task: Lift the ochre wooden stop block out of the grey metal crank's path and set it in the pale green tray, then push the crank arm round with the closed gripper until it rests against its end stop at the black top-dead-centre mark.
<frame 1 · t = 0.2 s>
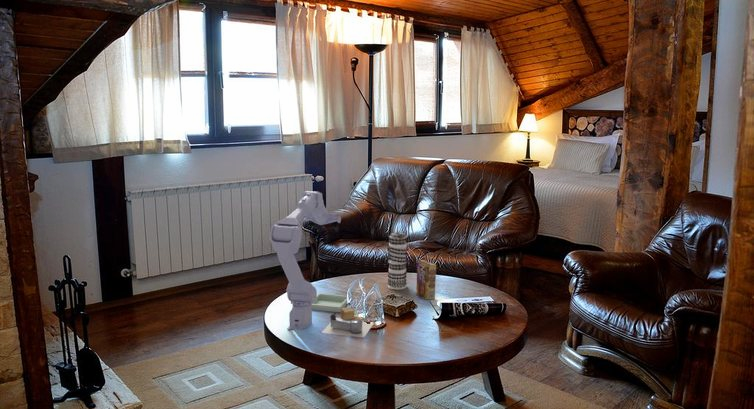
hand: (328, 229, 247), 31 cm above the table, tool tilted 50°, fingers open, 7 cm apart
candy box: (425, 296, 261), on the table
patterned cylinder: (397, 287, 274), on the table
tray: (329, 307, 247), on the table
crank: (346, 323, 219), point 4 cm above the table, hinge at 80.0°
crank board: (348, 329, 223), on the table
stop block: (347, 324, 225), point 1 cm above the table, touching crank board
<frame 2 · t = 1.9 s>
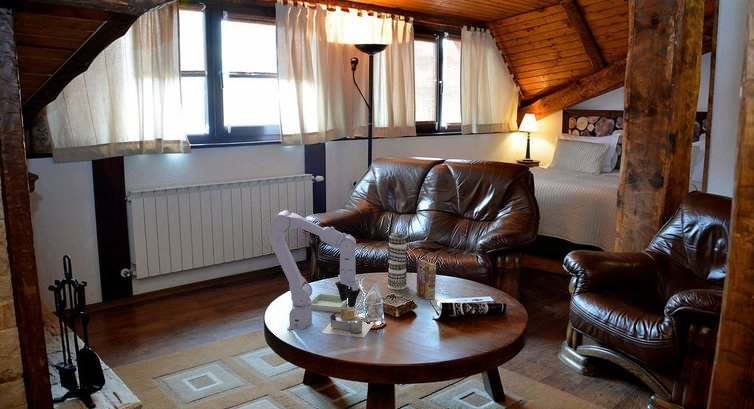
hand: (347, 303, 224), 9 cm above the table, tool pointing down, fingers open, 7 cm apart
nothing on the table moved.
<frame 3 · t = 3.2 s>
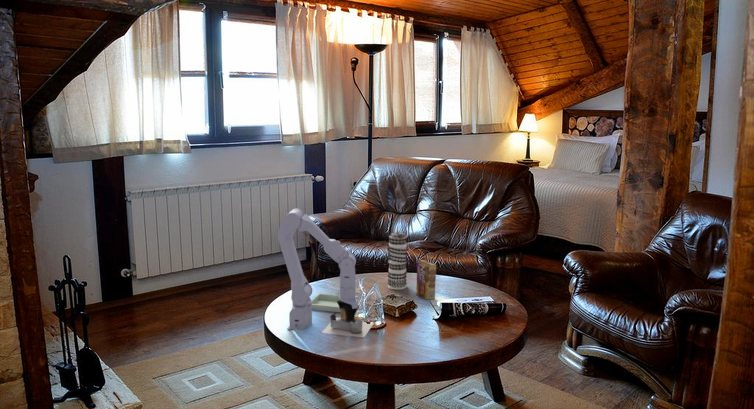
hand: (347, 321, 225), 2 cm above the table, tool pointing down, fingers closed on stop block, 4 cm apart
stop block: (347, 324, 225), point 1 cm above the table, touching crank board, gripper
everything else where it was.
when the fingers open (4 cm above the table, at t = 7.4 s): stop block drops 2 cm, resting on tray.
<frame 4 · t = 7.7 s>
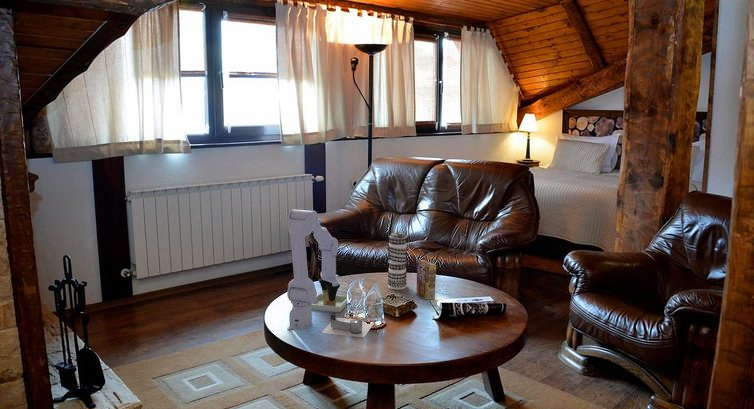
hand: (329, 298, 246), 4 cm above the table, tool pointing down, fingers open, 6 cm apart
stop block: (329, 305, 247), point 1 cm above the table, touching tray
everything else where it was.
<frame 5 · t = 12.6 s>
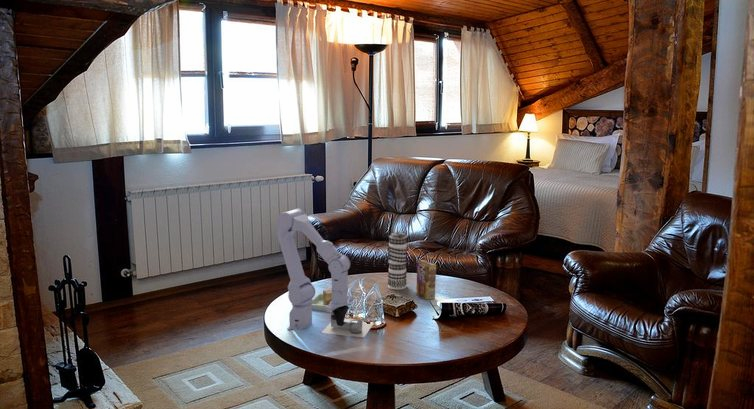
hand: (340, 325, 219), 3 cm above the table, tool pointing down, fingers closed, pressing on crank
crank: (346, 322, 219), point 4 cm above the table, hinge at 78.1°, touching gripper
everything else where it was.
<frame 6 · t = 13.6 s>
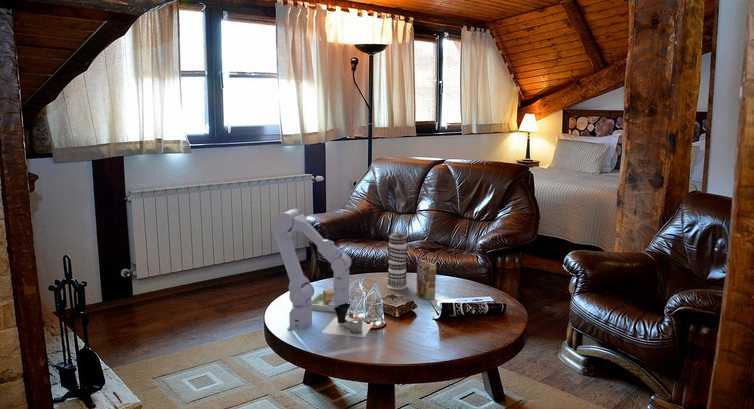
hand: (341, 322, 221), 3 cm above the table, tool pointing down, fingers closed, pressing on crank
crank: (349, 321, 221), point 4 cm above the table, hinge at 54.7°, touching gripper
everything else where it was.
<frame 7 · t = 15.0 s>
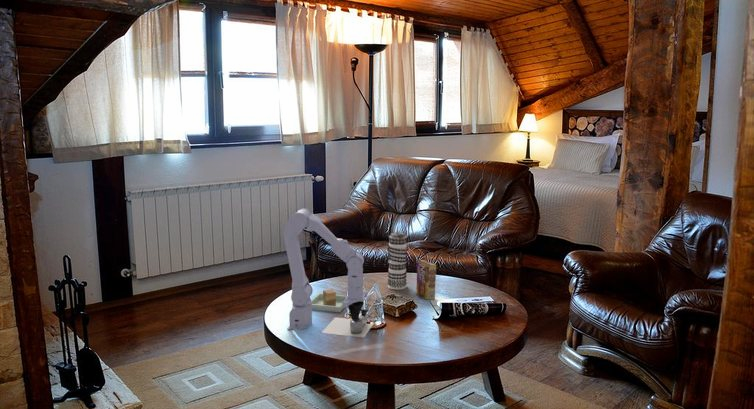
hand: (354, 320, 224), 3 cm above the table, tool pointing down, fingers closed, pressing on crank
crank: (359, 320, 221), point 4 cm above the table, hinge at -1.4°, touching gripper
everything else where it was.
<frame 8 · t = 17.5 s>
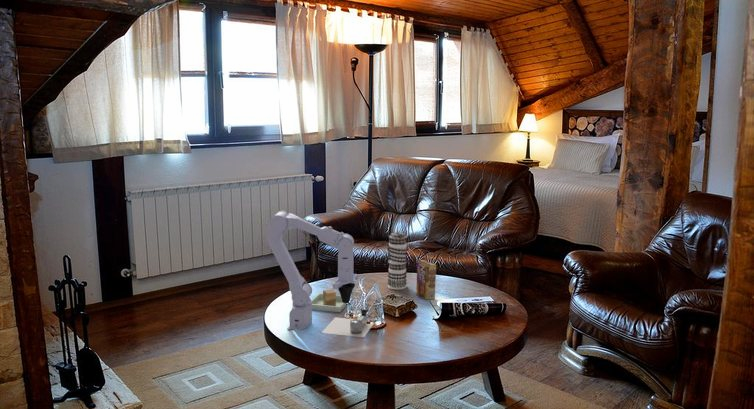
hand: (345, 302, 224), 9 cm above the table, tool pointing down, fingers closed
crank: (359, 320, 221), point 4 cm above the table, hinge at -1.6°
everything else where it was.
at the end: stop block inside the target area on the tray (0.1 cm from its centre), point 0.8 cm above the tray's base; crank at -2° (first picture: +80°) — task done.
